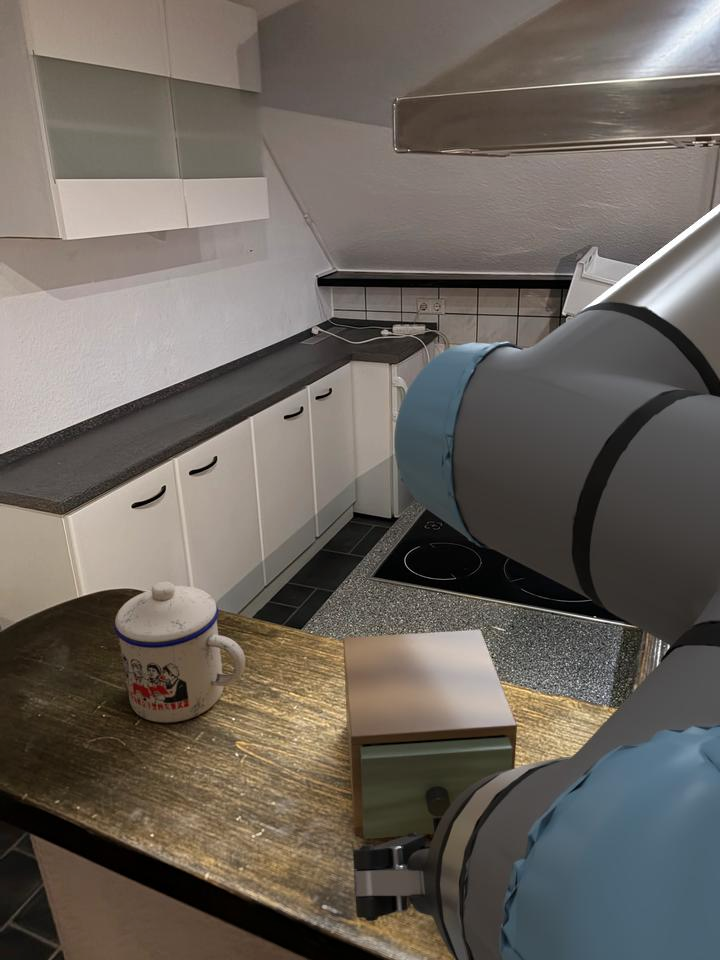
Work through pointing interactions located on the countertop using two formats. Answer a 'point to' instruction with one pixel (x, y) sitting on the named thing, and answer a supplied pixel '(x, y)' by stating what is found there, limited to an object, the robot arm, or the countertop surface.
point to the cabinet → (420, 694)
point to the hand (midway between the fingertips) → (454, 848)
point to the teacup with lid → (174, 652)
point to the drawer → (422, 780)
